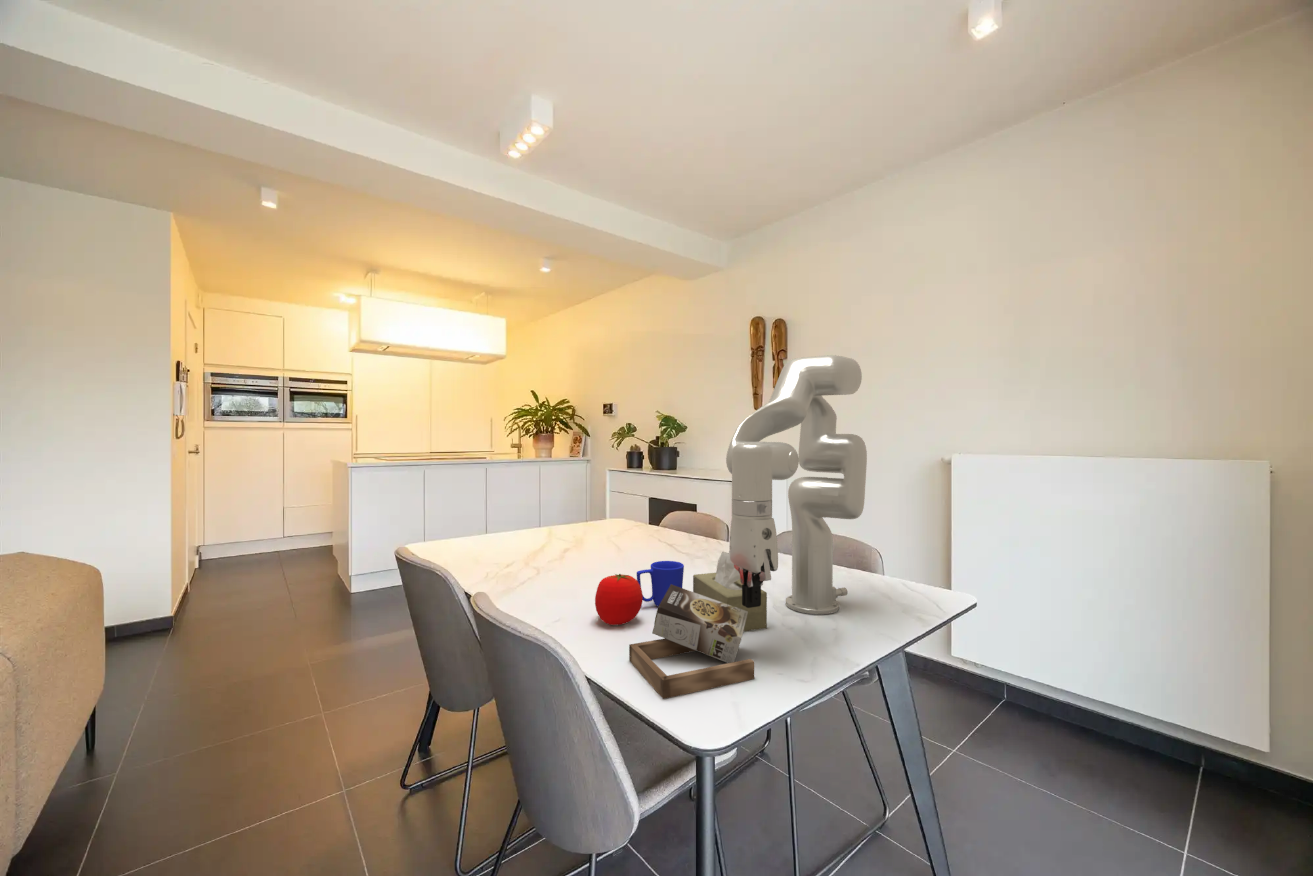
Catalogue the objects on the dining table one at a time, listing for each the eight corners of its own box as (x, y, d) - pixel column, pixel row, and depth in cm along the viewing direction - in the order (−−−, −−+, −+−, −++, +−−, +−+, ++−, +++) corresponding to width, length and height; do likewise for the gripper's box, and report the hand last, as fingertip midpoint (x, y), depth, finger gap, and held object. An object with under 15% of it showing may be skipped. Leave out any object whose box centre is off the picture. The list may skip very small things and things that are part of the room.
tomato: (584, 624, 116) (584, 575, 116) (614, 610, 125) (614, 565, 125) (622, 634, 110) (622, 583, 110) (650, 619, 119) (650, 572, 119)
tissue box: (767, 629, 113) (768, 556, 113) (727, 635, 110) (727, 560, 110) (728, 602, 131) (728, 539, 131) (692, 607, 128) (692, 542, 128)
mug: (631, 604, 129) (631, 564, 129) (675, 598, 134) (675, 559, 134) (643, 615, 122) (643, 572, 122) (689, 608, 127) (689, 566, 127)
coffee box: (742, 637, 93) (657, 606, 97) (733, 666, 95) (650, 635, 99) (748, 609, 102) (670, 582, 105) (740, 637, 104) (663, 609, 107)
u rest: (710, 645, 104) (710, 630, 104) (754, 678, 90) (754, 661, 90) (629, 660, 97) (629, 644, 97) (663, 699, 83) (663, 680, 83)
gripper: (793, 513, 93) (792, 615, 93) (746, 503, 107) (746, 592, 107) (758, 515, 90) (757, 621, 90) (714, 505, 104) (714, 597, 104)
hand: (751, 605), depth 99 cm, fingers closed
